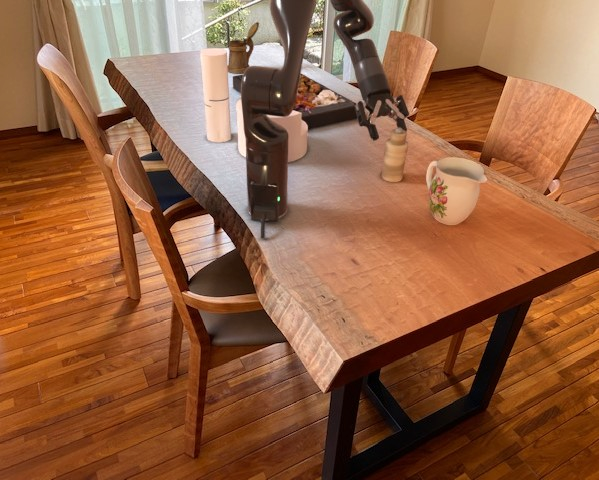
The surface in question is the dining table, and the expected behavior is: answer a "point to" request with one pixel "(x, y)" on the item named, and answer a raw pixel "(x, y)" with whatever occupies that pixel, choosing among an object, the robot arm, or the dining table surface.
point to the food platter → (317, 103)
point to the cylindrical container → (216, 94)
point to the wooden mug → (241, 52)
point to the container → (291, 123)
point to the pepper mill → (395, 156)
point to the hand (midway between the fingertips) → (390, 137)
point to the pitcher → (454, 188)
